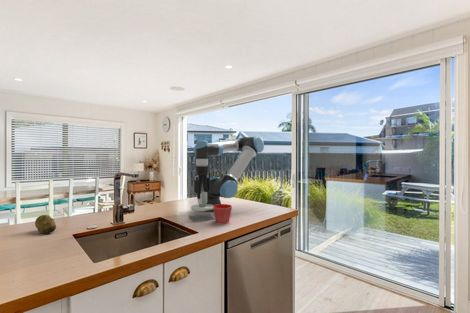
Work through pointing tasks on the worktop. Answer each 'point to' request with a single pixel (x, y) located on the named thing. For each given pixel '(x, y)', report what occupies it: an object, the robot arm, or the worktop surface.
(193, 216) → the mat
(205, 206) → the lid
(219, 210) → the flower pot
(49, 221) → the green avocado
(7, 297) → the worktop surface
